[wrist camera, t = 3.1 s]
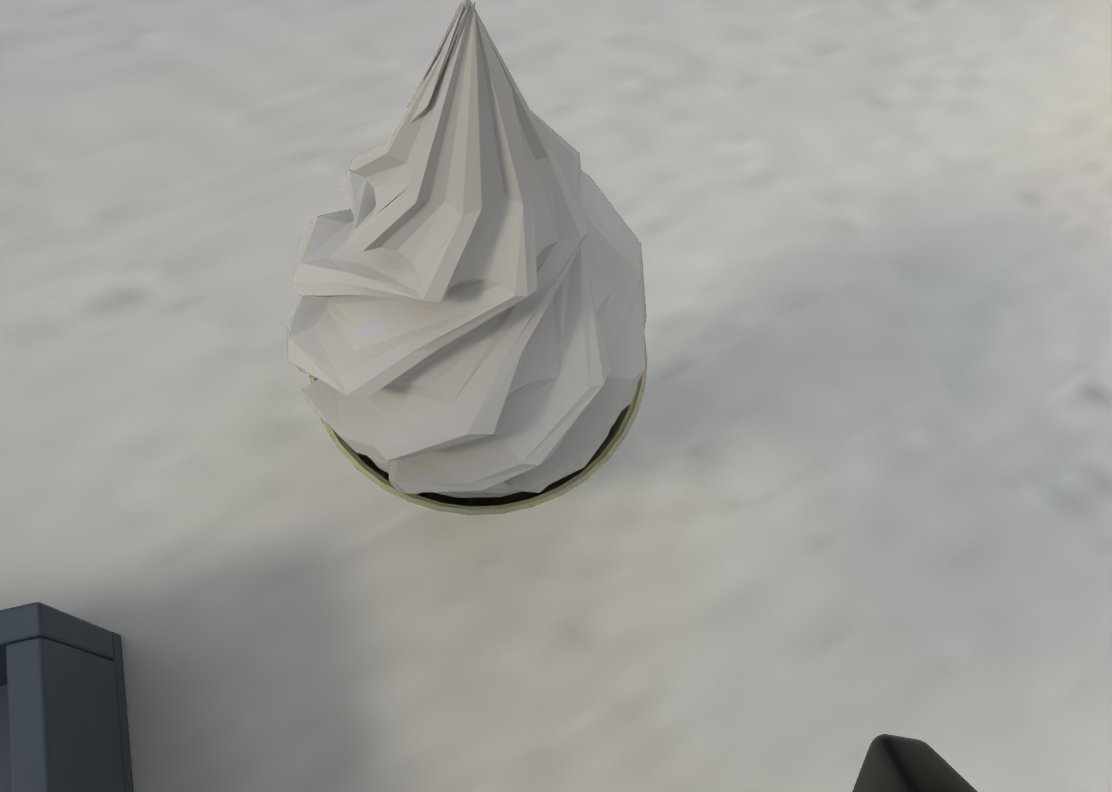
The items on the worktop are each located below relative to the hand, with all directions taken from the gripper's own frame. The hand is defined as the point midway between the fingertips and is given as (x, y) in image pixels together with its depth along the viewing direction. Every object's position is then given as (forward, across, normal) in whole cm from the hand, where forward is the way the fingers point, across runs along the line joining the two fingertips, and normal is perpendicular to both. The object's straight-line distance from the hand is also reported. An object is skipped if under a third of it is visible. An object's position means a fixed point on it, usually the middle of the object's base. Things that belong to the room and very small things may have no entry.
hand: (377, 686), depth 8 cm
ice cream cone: (+12, 0, +5) cm, 13 cm away
